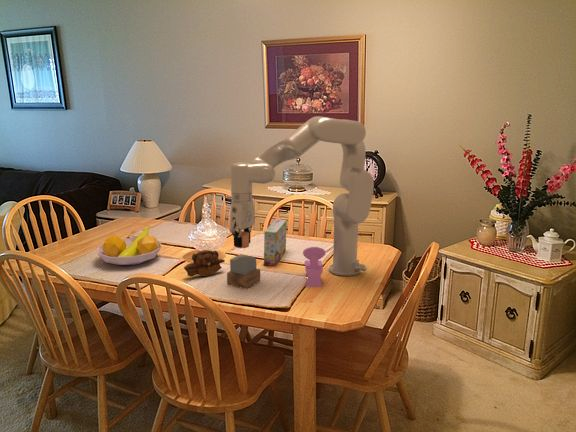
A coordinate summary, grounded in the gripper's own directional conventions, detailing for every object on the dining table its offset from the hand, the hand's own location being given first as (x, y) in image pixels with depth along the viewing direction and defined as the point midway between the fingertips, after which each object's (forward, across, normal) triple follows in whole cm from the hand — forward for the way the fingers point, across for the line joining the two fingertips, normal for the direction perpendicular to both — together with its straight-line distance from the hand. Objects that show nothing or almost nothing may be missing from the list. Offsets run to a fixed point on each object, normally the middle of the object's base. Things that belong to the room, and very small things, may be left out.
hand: (242, 244), depth 177 cm
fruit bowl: (+16, -1, +56) cm, 58 cm away
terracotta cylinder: (+1, 0, 0) cm, 1 cm away
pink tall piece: (+15, +13, -23) cm, 31 cm away
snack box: (+15, +30, +3) cm, 34 cm away
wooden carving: (+16, -1, +17) cm, 23 cm away
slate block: (+11, 0, 0) cm, 11 cm away
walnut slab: (+16, 0, 0) cm, 16 cm away
